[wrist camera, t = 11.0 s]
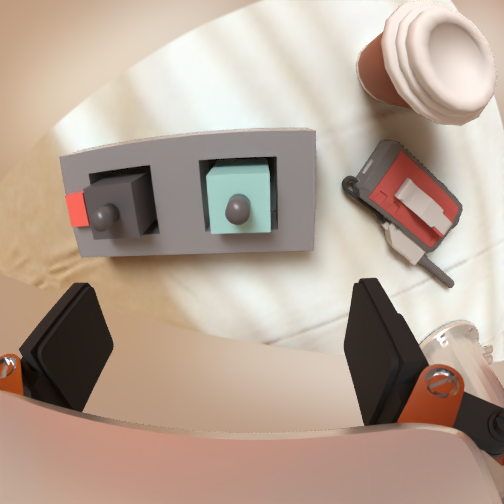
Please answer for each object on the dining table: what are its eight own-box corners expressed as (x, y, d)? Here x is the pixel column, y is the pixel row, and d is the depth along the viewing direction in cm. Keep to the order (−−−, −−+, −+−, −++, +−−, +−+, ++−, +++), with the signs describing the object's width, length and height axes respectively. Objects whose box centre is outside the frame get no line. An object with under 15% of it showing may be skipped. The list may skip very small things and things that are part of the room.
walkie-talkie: (325, 198, 29) (442, 286, 33) (335, 213, 25) (458, 305, 29) (374, 126, 25) (482, 233, 30) (393, 129, 21) (502, 248, 26)
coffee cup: (343, 19, 21) (394, -28, 10) (428, 43, 21) (505, 25, 10) (338, 108, 25) (393, 109, 14) (423, 126, 25) (503, 144, 14)
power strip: (306, 127, 25) (328, 135, 17) (306, 230, 30) (323, 277, 22) (83, 149, 26) (29, 168, 18) (100, 238, 31) (58, 280, 22)
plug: (266, 158, 27) (270, 179, 19) (267, 204, 29) (271, 243, 21) (218, 160, 27) (201, 182, 19) (221, 205, 29) (207, 245, 21)
